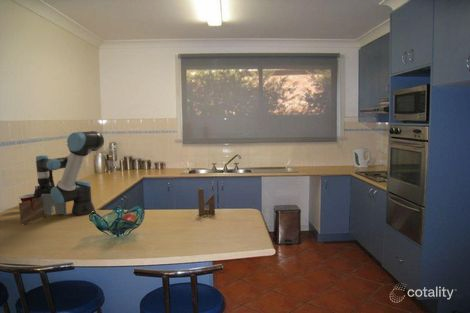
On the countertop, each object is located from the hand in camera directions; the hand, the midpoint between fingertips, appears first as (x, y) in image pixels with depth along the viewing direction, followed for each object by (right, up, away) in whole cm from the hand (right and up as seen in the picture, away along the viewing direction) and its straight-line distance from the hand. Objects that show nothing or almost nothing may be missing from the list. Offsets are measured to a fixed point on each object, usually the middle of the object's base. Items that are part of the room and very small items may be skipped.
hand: (46, 207), depth 252 cm
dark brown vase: (-12, -2, +30) cm, 32 cm away
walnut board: (+1, -7, -17) cm, 18 cm away
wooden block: (+115, -4, -12) cm, 115 cm away
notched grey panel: (+6, -5, -1) cm, 8 cm away
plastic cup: (-17, -4, +9) cm, 20 cm away
